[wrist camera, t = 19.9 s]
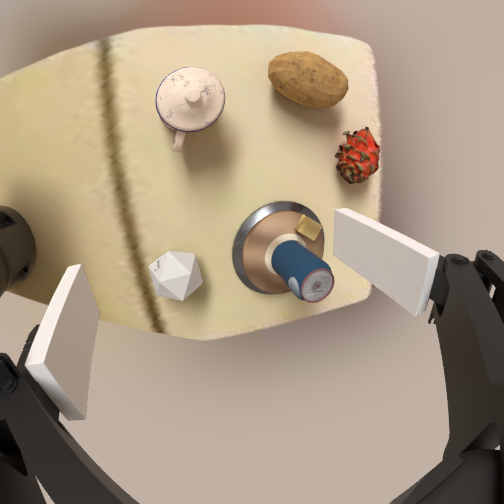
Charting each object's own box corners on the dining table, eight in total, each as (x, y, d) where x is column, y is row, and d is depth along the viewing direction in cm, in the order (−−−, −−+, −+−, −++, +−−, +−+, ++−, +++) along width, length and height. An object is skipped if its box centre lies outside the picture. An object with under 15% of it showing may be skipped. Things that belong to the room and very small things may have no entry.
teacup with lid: (164, 74, 36) (166, 54, 26) (219, 86, 40) (238, 70, 30) (146, 146, 40) (141, 148, 30) (201, 155, 43) (215, 160, 33)
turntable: (291, 297, 59) (302, 310, 55) (225, 272, 52) (232, 285, 48) (332, 232, 56) (346, 240, 52) (269, 194, 49) (281, 201, 44)
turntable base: (239, 303, 57) (240, 304, 56) (224, 211, 48) (225, 212, 48) (322, 278, 61) (324, 280, 60) (321, 193, 53) (323, 194, 52)
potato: (263, 47, 39) (282, 34, 32) (332, 71, 44) (358, 65, 37) (253, 97, 42) (270, 90, 35) (324, 117, 47) (350, 116, 40)
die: (194, 236, 49) (163, 243, 40) (219, 278, 49) (192, 295, 40) (163, 258, 52) (130, 269, 43) (186, 298, 52) (157, 316, 43)
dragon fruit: (327, 181, 54) (344, 129, 53) (367, 195, 52) (382, 143, 51) (329, 171, 46) (347, 112, 44) (375, 188, 44) (391, 129, 43)
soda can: (265, 272, 52) (293, 308, 42) (271, 237, 50) (303, 266, 39) (299, 271, 55) (331, 304, 44) (305, 237, 52) (342, 264, 42)
